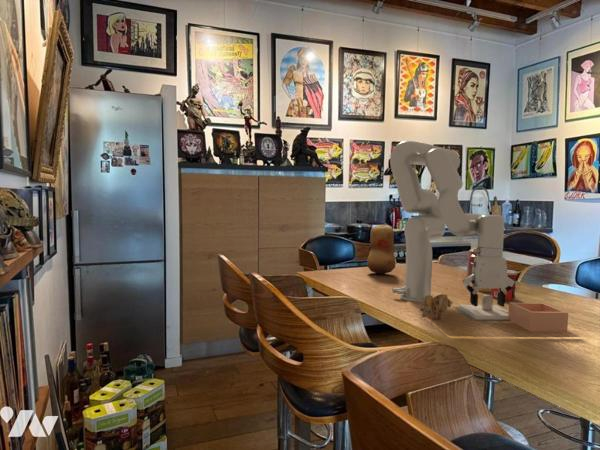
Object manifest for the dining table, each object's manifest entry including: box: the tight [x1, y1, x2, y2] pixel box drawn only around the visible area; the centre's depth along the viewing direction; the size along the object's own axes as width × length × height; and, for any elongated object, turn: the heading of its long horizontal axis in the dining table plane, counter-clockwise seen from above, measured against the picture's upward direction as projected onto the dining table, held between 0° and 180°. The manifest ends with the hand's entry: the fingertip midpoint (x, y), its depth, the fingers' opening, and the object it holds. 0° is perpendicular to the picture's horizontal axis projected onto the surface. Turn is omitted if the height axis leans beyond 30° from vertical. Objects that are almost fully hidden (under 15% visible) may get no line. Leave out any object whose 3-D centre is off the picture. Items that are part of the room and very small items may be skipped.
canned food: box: [490, 269, 517, 302], centre depth 153 cm, size 8×8×11 cm
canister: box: [465, 247, 477, 278], centre depth 190 cm, size 13×13×18 cm
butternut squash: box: [366, 224, 396, 276], centre depth 201 cm, size 14×13×25 cm
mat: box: [452, 306, 511, 322], centre depth 131 cm, size 16×16×1 cm
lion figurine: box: [419, 293, 453, 323], centre depth 127 cm, size 15×5×9 cm, turn 15°
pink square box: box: [508, 302, 569, 333], centre depth 120 cm, size 11×11×6 cm
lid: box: [458, 294, 509, 320], centre depth 131 cm, size 13×13×6 cm
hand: (487, 305), depth 131 cm, fingers open, 8 cm apart
